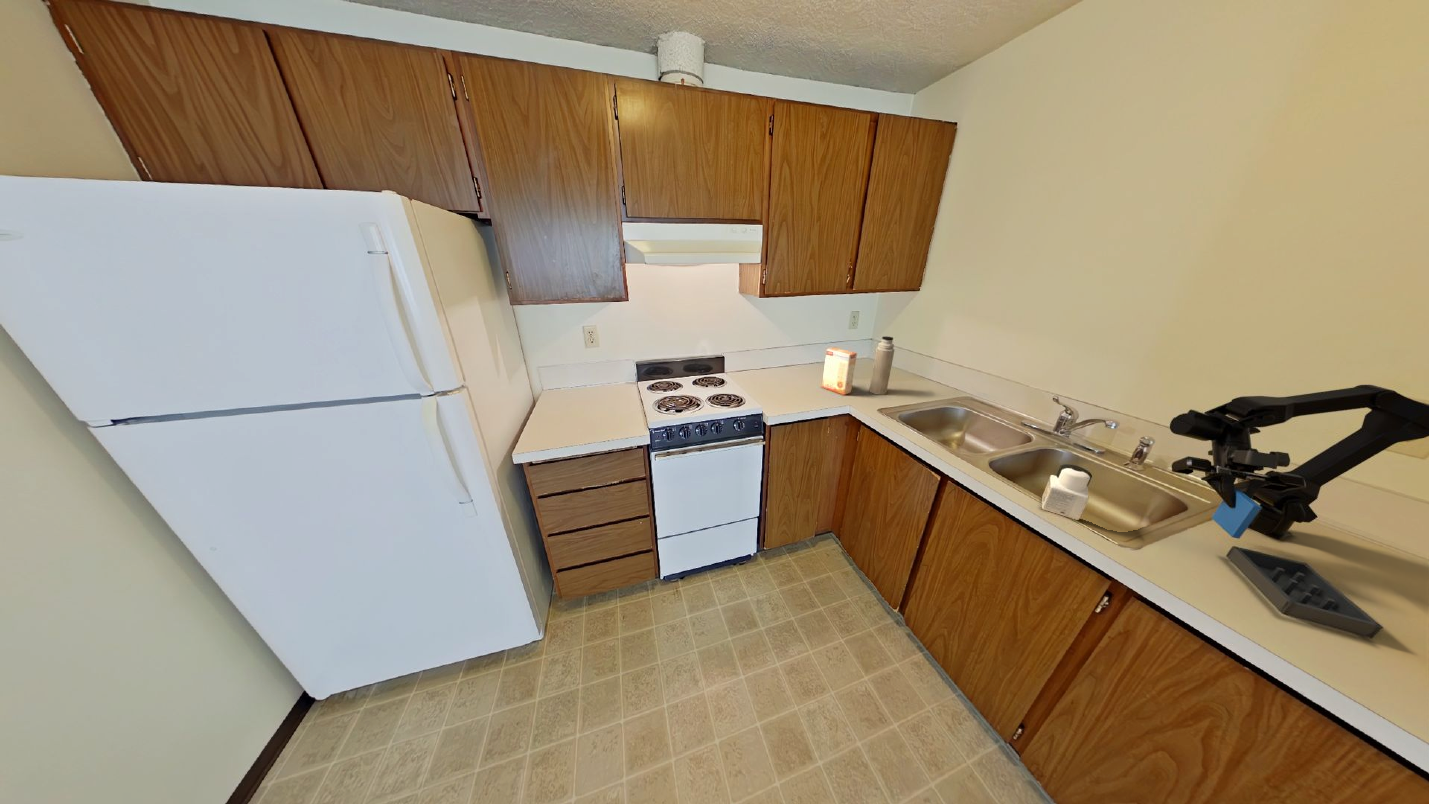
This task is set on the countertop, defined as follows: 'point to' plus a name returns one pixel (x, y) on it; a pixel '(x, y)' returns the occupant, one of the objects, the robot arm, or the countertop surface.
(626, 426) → the countertop surface
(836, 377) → the cracker box
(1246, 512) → the blue rectangular block
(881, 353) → the thermos bottle
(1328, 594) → the dish rack
